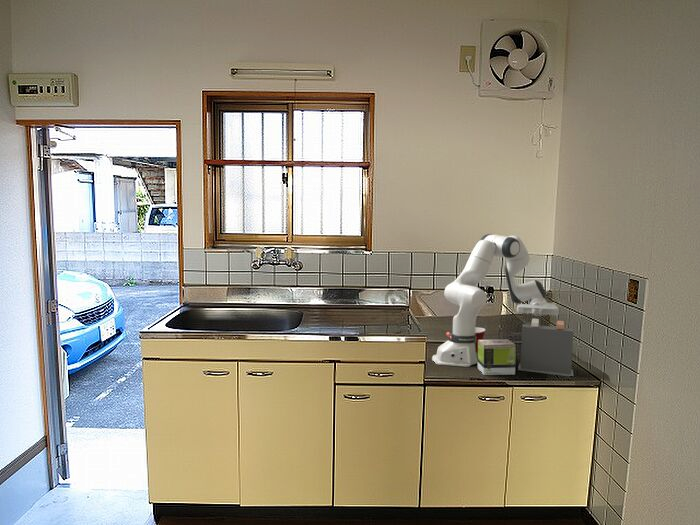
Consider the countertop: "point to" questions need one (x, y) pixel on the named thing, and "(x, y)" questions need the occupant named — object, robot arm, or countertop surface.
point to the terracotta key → (560, 325)
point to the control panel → (546, 350)
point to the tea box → (496, 357)
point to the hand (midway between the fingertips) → (536, 312)
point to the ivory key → (535, 322)
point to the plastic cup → (479, 336)
